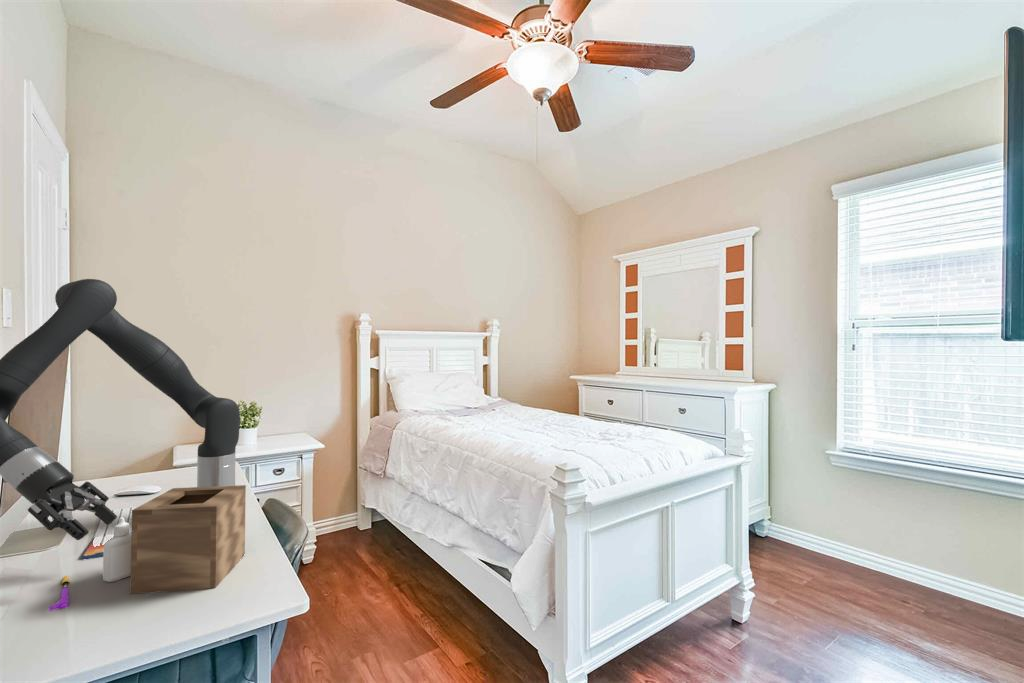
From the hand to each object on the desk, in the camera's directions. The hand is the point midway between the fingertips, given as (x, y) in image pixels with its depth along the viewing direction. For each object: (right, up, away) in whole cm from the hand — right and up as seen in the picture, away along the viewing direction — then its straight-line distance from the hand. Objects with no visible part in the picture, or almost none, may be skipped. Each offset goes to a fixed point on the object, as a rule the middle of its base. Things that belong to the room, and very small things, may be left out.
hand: (99, 528), depth 98 cm
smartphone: (-12, -11, +16) cm, 23 cm away
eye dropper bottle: (+4, -10, +1) cm, 11 cm away
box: (+18, -10, +2) cm, 21 cm away
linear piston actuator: (-2, -11, -6) cm, 13 cm away
